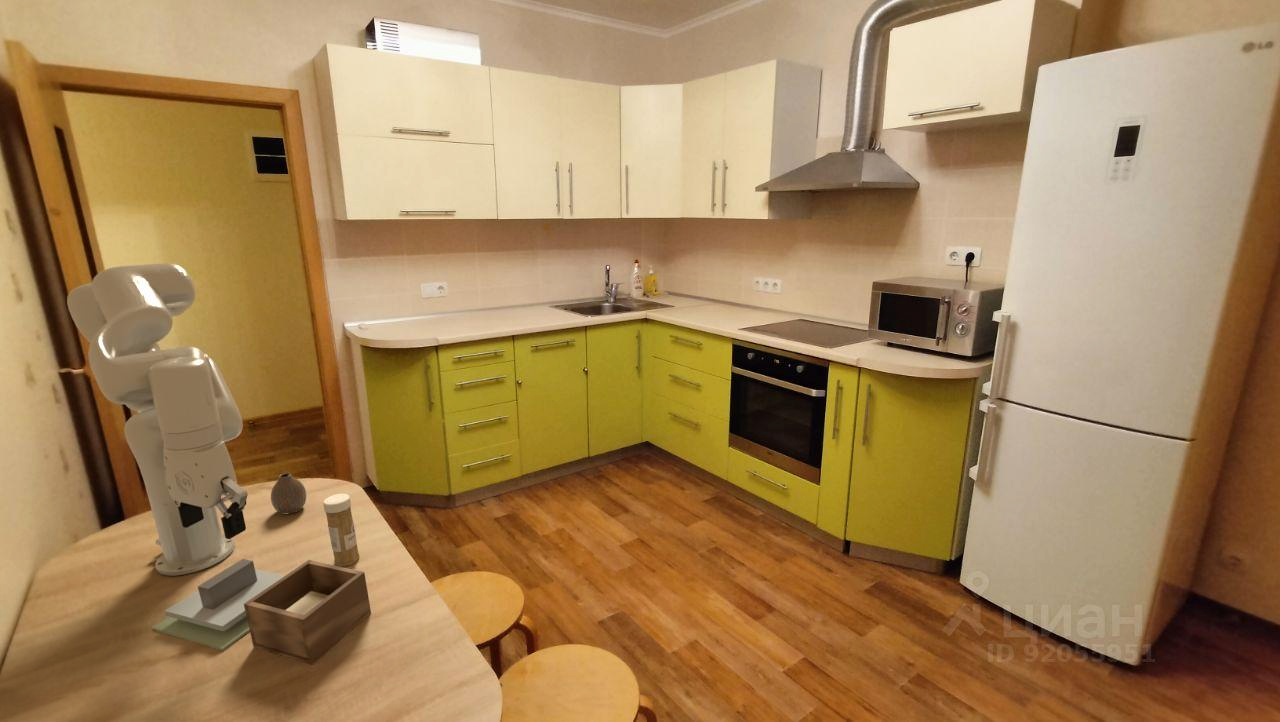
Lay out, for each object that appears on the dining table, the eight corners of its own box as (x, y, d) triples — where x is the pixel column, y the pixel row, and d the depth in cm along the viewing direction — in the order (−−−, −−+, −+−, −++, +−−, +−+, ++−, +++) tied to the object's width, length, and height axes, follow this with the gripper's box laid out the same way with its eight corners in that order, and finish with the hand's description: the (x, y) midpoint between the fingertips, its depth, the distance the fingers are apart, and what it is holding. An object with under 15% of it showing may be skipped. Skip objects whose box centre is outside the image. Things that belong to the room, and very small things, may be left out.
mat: (152, 629, 96) (152, 627, 96) (243, 572, 111) (243, 570, 110) (222, 650, 91) (222, 648, 91) (308, 588, 106) (308, 586, 105)
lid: (168, 623, 97) (158, 589, 95) (240, 577, 109) (233, 546, 107) (225, 639, 93) (217, 604, 91) (294, 589, 105) (288, 557, 103)
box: (253, 647, 92) (243, 603, 89) (316, 599, 102) (308, 559, 100) (312, 664, 88) (303, 619, 86) (371, 613, 99) (364, 572, 97)
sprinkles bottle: (361, 562, 113) (351, 499, 110) (335, 570, 111) (324, 506, 107) (357, 551, 117) (347, 490, 113) (332, 558, 114) (321, 497, 111)
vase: (266, 516, 131) (259, 481, 128) (289, 501, 137) (282, 467, 135) (293, 518, 130) (286, 483, 127) (315, 503, 136) (309, 469, 134)
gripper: (130, 436, 92) (154, 531, 97) (209, 452, 86) (231, 552, 91) (179, 419, 98) (200, 508, 103) (255, 433, 93) (273, 526, 98)
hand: (214, 528), depth 97 cm, fingers open, 9 cm apart
